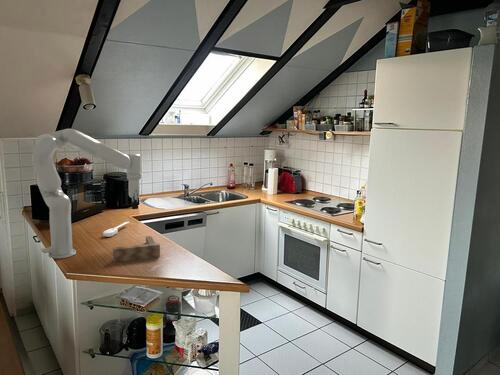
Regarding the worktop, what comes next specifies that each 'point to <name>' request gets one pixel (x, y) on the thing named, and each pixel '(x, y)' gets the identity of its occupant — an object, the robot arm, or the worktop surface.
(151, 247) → the brown angled block
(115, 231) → the white toy guitar
